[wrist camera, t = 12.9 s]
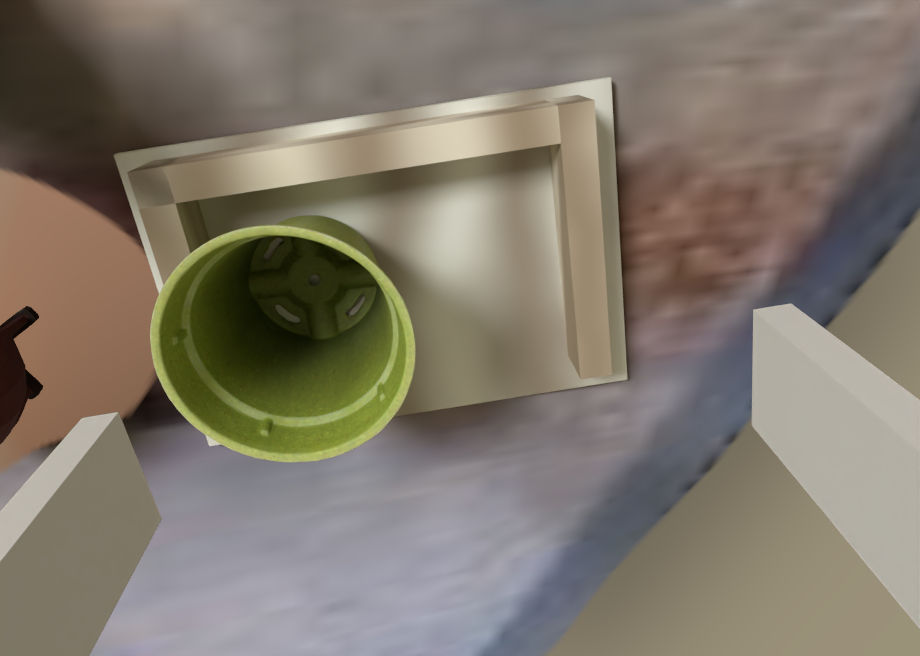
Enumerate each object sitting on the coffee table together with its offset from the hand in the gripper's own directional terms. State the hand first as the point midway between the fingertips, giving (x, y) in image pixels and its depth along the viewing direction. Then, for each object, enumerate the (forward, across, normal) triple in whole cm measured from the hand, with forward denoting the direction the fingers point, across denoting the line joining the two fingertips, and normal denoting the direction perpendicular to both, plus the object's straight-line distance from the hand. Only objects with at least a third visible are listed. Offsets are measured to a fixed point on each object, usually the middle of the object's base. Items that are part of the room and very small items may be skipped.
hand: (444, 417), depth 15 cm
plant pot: (+19, -6, -3) cm, 20 cm away
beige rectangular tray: (+20, -2, -3) cm, 20 cm away
